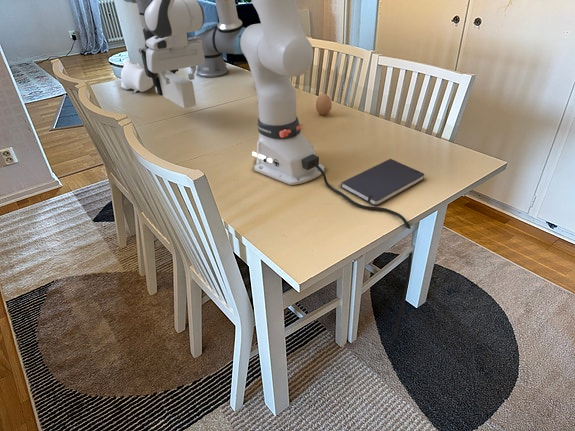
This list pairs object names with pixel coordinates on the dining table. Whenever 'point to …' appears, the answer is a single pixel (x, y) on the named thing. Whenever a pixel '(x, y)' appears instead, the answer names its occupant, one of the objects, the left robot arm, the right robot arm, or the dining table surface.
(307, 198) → the dining table surface
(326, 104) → the egg
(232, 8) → the left robot arm
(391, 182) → the notebook
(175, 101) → the bar
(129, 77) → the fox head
